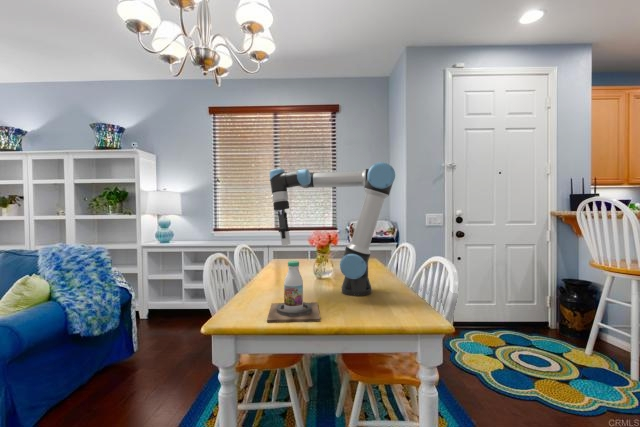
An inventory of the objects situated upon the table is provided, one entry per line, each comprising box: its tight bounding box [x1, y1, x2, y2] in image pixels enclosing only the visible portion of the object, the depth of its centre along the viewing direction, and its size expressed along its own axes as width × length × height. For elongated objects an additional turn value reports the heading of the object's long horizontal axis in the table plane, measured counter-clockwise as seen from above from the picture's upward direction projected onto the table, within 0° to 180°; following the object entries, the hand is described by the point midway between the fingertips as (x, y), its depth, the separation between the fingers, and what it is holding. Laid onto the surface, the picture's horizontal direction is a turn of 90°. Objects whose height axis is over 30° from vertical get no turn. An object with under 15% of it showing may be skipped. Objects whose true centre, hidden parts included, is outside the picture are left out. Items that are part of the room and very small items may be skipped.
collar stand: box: [266, 301, 321, 323], centre depth 129 cm, size 20×20×2 cm
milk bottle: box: [283, 260, 304, 311], centre depth 129 cm, size 8×8×20 cm
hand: (286, 245), depth 151 cm, fingers open, 13 cm apart
